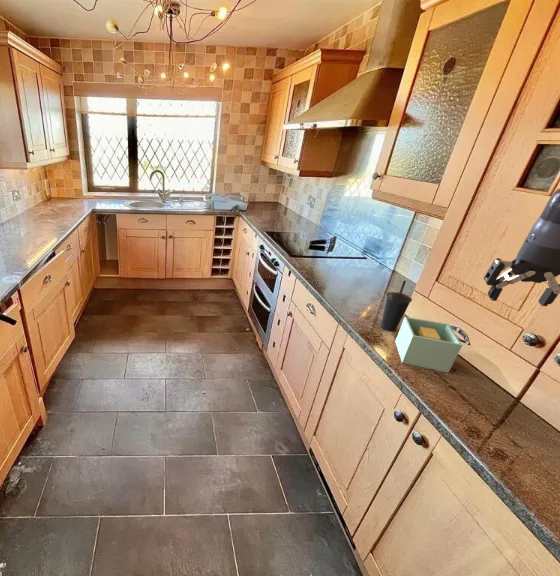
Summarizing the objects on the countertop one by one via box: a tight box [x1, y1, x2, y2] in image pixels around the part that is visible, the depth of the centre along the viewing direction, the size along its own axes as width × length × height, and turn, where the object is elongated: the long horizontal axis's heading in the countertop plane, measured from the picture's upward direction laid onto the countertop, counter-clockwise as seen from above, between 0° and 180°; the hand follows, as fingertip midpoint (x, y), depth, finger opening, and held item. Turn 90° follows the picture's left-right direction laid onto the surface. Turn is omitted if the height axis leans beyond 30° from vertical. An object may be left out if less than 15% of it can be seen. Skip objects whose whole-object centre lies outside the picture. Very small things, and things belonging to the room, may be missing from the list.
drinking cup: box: [380, 279, 413, 333], centre depth 112 cm, size 8×8×20 cm
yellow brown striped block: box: [416, 327, 441, 340], centre depth 100 cm, size 4×6×9 cm
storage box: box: [394, 316, 463, 374], centre depth 100 cm, size 12×12×11 cm
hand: (516, 301), depth 72 cm, fingers open, 8 cm apart
